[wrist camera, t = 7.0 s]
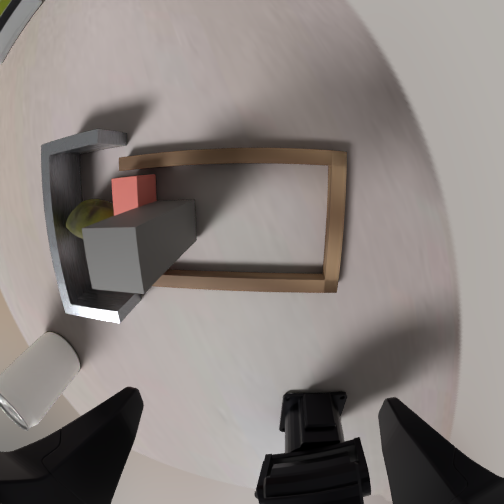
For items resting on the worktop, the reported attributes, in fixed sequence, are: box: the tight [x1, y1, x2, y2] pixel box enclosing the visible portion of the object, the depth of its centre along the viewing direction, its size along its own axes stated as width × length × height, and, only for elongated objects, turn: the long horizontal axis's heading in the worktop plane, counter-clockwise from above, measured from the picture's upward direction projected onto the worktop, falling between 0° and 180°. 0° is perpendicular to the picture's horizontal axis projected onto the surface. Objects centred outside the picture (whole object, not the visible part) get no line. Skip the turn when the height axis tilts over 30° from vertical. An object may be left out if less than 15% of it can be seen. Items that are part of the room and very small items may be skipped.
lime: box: [66, 199, 114, 239], centre depth 18 cm, size 4×5×5 cm
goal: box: [41, 129, 141, 323], centre depth 19 cm, size 14×6×4 cm, turn 0°
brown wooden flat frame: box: [119, 148, 347, 293], centre depth 19 cm, size 10×16×1 cm, turn 90°
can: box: [0, 332, 80, 431], centre depth 20 cm, size 6×6×12 cm
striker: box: [82, 174, 197, 294], centre depth 15 cm, size 7×5×9 cm
